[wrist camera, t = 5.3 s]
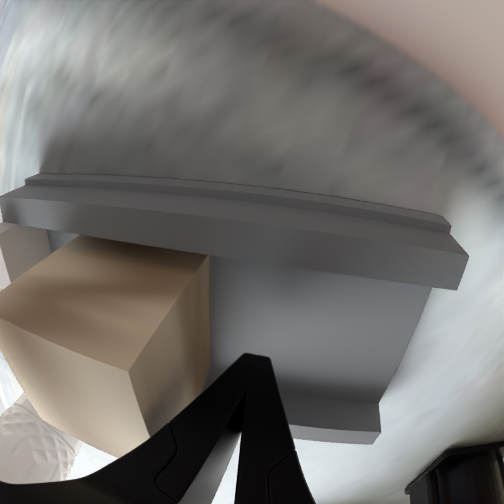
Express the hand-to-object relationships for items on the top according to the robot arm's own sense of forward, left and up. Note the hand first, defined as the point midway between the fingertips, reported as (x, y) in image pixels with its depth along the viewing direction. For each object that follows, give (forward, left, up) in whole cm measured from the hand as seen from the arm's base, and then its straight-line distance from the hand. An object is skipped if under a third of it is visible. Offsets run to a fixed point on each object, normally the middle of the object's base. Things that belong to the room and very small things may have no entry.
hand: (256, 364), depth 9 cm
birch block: (+4, 0, -2) cm, 5 cm away
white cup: (+17, +16, -3) cm, 24 cm away
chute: (+3, 0, -3) cm, 4 cm away
